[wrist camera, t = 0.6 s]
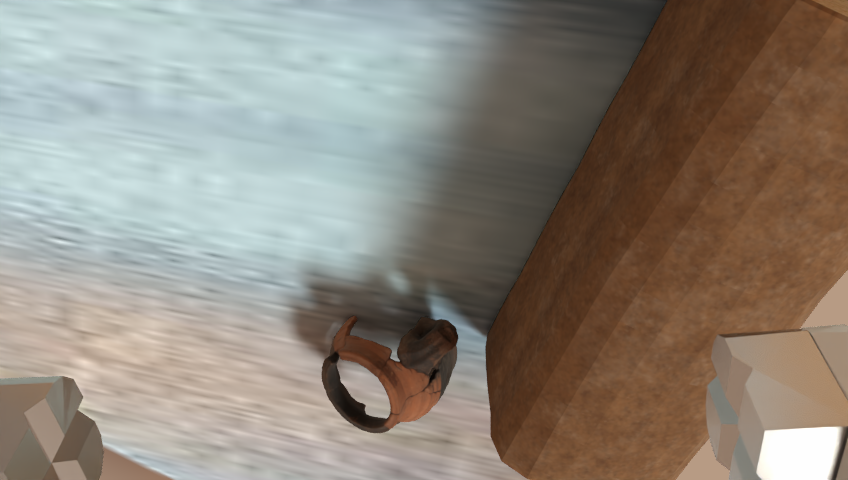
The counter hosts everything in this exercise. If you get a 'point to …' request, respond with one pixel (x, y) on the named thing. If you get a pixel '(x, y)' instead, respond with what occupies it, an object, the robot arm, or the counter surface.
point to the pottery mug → (394, 372)
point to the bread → (677, 239)
